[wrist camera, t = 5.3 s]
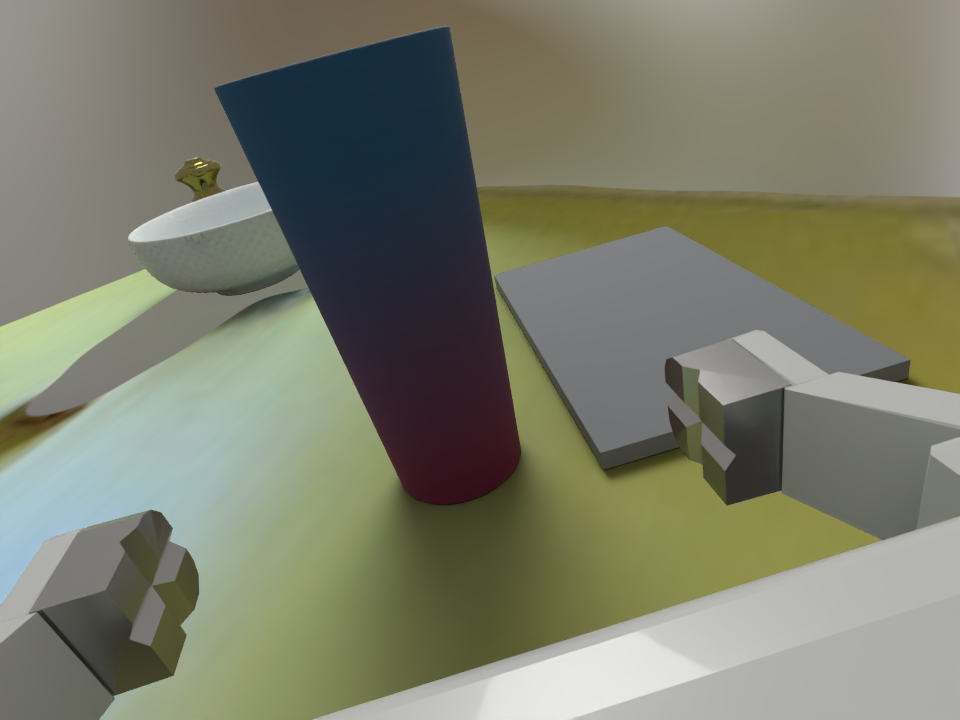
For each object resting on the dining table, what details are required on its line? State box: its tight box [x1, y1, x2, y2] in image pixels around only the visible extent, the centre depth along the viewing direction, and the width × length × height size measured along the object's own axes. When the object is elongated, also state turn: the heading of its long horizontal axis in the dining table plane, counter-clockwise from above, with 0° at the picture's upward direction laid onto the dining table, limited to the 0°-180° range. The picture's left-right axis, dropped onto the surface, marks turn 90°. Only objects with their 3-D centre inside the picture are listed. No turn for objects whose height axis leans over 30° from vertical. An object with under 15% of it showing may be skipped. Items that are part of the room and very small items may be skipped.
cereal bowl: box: [128, 182, 300, 296], centre depth 52 cm, size 17×17×7 cm
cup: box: [214, 26, 520, 504], centre depth 20 cm, size 7×7×15 cm
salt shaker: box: [174, 157, 225, 202], centre depth 66 cm, size 7×7×10 cm
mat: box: [494, 226, 910, 470], centre depth 30 cm, size 12×20×1 cm, turn 10°
